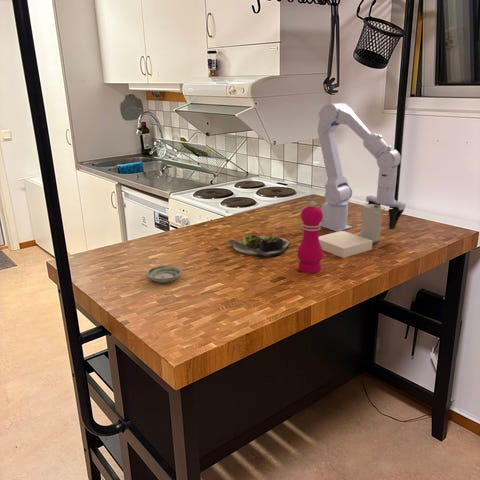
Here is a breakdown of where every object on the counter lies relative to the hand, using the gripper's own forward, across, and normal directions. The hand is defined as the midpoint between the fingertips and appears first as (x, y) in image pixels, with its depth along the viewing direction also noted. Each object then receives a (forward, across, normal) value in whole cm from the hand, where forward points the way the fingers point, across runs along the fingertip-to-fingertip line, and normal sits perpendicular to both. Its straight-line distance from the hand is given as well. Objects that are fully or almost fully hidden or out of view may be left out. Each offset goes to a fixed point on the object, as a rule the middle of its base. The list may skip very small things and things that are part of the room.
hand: (382, 226), depth 162 cm
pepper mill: (+4, -7, +40) cm, 41 cm away
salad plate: (+4, +15, +40) cm, 43 cm away
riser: (+4, 0, +19) cm, 20 cm away
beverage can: (+4, 0, +6) cm, 8 cm away
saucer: (+4, +11, +77) cm, 78 cm away
